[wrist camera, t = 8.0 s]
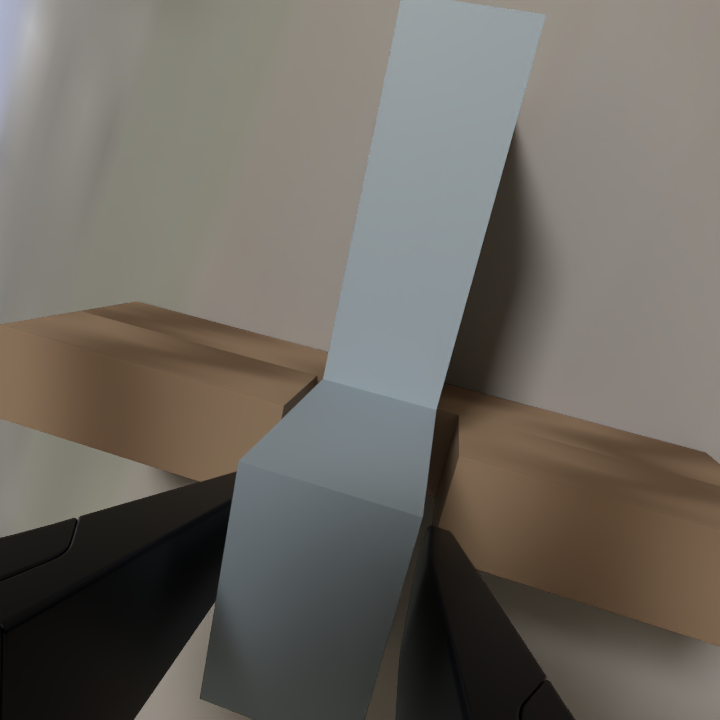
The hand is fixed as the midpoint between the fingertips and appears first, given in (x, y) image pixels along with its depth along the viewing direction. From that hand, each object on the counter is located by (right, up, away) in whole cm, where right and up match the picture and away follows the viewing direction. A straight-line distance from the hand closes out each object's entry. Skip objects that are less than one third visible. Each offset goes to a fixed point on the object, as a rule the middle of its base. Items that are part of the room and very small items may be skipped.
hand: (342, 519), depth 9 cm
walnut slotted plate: (+1, +1, +6) cm, 6 cm away
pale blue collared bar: (+1, +1, +6) cm, 6 cm away
